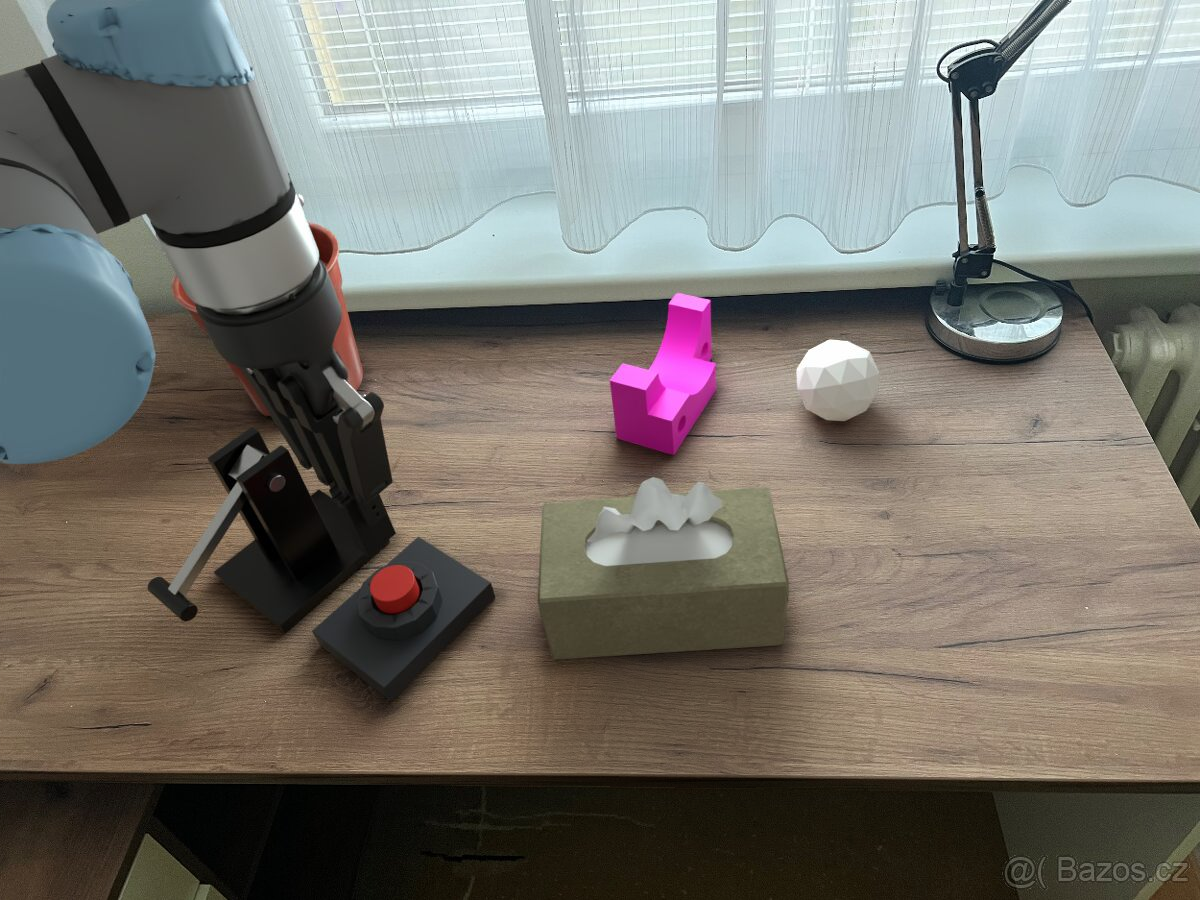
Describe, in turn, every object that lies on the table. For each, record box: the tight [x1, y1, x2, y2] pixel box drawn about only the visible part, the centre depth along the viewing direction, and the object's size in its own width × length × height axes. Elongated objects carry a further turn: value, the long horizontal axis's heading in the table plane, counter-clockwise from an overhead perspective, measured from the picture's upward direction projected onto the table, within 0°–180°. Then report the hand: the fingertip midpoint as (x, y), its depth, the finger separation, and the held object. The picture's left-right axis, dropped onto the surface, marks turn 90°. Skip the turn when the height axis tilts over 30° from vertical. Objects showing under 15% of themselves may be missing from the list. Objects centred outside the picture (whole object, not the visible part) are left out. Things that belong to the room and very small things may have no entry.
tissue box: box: [537, 476, 790, 660], centre depth 67 cm, size 19×10×16 cm, turn 90°
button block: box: [311, 536, 496, 702], centre depth 72 cm, size 12×9×4 cm
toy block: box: [609, 292, 717, 456], centre depth 87 cm, size 15×6×8 cm, turn 151°
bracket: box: [207, 426, 391, 634], centre depth 75 cm, size 12×10×14 cm
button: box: [370, 565, 419, 614], centre depth 70 cm, size 4×4×2 cm
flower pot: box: [170, 221, 364, 417], centre depth 92 cm, size 16×16×16 cm
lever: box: [146, 445, 268, 622], centre depth 70 cm, size 14×5×2 cm, turn 139°
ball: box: [795, 339, 880, 422], centre depth 84 cm, size 8×8×8 cm
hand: (376, 540), depth 66 cm, fingers closed
